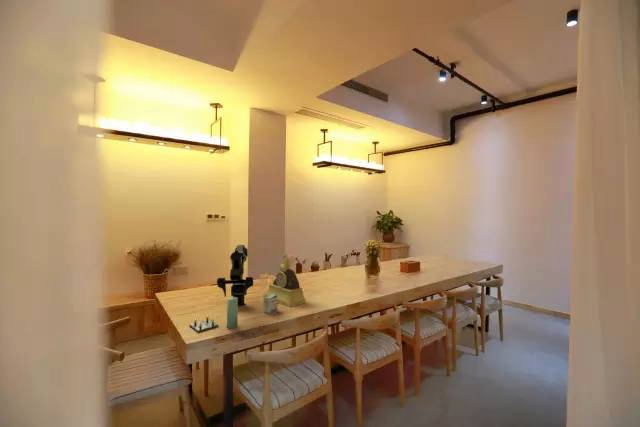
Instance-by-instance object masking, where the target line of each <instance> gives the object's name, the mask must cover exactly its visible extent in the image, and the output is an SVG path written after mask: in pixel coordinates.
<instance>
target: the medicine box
mask: <svg viewBox="0 0 640 427" xmlns="http://www.w3.org/2000/svg"><path fill="white" fill-rule="evenodd" d="M277 309H278V302H277V295H275V294H271V295H269V296H267V297H263V313H264V314H271V313H273V312H275V311H276V310H277Z"/></svg>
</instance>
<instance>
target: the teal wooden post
mask: <svg viewBox="0 0 640 427" xmlns="http://www.w3.org/2000/svg"><path fill="white" fill-rule="evenodd" d="M226 307H227V308H226V329H229V330H230V329H231V330H233V329H236V328H237V327H238V323H239V322H238V319H239V318H238V316H239V315H238V314H239V312H238V311H239V310H238V309H239V308H238V307H239V306H238V298H237V297H233V296H231V297H228V298H227V302H226Z"/></svg>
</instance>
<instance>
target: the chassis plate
mask: <svg viewBox="0 0 640 427" xmlns="http://www.w3.org/2000/svg"><path fill="white" fill-rule="evenodd" d="M205 317H206V319H203V320H202V321H198V322H197V319H196V318H195V319H193V322H194V323H190V324H189V327H190V328H191V329H192V330H194V331H195V332H196V333H197V334H198V333H199V334H200V333H202V332H204V331H208V330H212V329H215V328H218V327H219V324H218V323H217V322H215V321H214V320H215V319H210V318H209V315H206V316H205Z"/></svg>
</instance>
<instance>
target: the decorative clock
mask: <svg viewBox="0 0 640 427" xmlns="http://www.w3.org/2000/svg"><path fill="white" fill-rule="evenodd" d="M282 256H283V262H282V263H283V264H280V266H279V268H280V271H278V273H277V274H276V277H275V278H274V280H273V281H272V283H269V285H268V289H267V291H266V292H264V293H263V298H265V297H267V296H269V295H271V294H275V295H277V304H281V305H283V306H285V307H288V308H292V307H296V306H299V305H302V304H306V298H305V296H304V294H303V293H304V292H303V287H300V282H299V279H298V278H297V275H296V273H295V272H294V270H293V269H291V262H290V258H289V257H288V254H287V253H284V254H283V255H282Z"/></svg>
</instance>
